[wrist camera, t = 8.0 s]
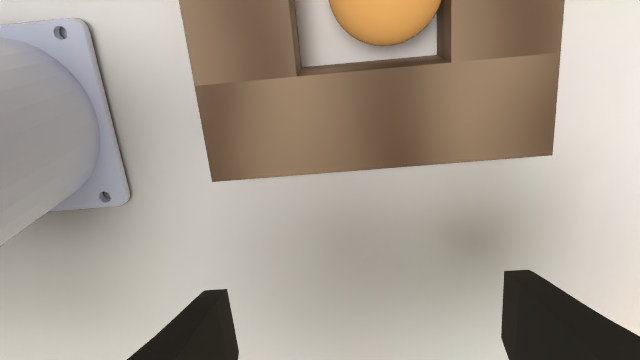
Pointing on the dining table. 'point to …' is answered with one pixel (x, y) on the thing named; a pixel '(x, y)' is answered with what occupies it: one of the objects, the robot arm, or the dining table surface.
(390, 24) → the ball
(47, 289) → the dining table surface
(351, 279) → the dining table surface
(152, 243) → the dining table surface
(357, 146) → the brown square frame
